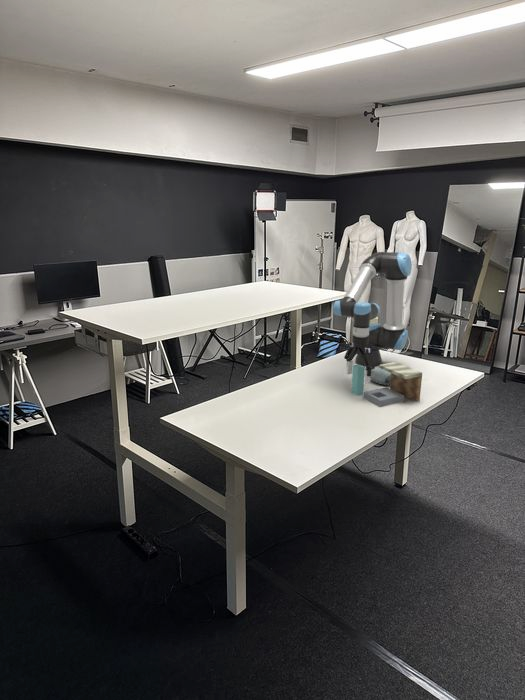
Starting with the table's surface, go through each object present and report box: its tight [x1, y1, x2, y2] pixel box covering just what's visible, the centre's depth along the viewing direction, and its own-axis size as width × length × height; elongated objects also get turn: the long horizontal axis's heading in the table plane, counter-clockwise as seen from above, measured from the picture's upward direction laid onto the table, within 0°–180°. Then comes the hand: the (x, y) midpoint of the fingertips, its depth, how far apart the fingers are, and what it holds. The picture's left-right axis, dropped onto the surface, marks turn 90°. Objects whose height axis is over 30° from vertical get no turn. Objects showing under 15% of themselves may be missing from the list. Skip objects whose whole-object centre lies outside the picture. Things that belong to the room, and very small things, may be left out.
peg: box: [351, 364, 366, 396], centre depth 228 cm, size 4×4×14 cm
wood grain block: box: [378, 361, 423, 402], centre depth 225 cm, size 18×10×14 cm, turn 27°
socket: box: [363, 386, 405, 408], centre depth 222 cm, size 12×14×3 cm
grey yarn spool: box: [370, 366, 391, 386], centre depth 243 cm, size 14×10×10 cm
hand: (357, 378), depth 228 cm, fingers open, 13 cm apart
